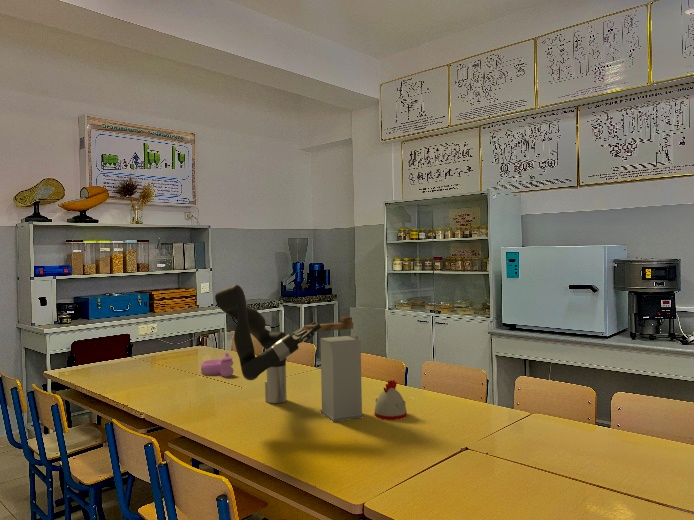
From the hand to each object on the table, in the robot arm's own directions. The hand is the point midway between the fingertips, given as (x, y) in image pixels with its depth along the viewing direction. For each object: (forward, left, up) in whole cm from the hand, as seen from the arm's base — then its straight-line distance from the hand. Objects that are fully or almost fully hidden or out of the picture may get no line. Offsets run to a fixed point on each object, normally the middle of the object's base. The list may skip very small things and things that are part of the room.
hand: (317, 324), depth 229 cm
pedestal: (+7, +7, -40) cm, 41 cm away
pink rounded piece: (-93, +60, -41) cm, 118 cm away
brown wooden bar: (+4, +4, -3) cm, 6 cm away
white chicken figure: (+27, +14, -40) cm, 51 cm away
